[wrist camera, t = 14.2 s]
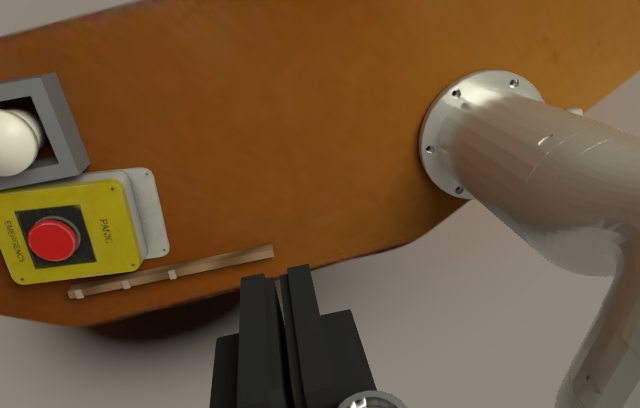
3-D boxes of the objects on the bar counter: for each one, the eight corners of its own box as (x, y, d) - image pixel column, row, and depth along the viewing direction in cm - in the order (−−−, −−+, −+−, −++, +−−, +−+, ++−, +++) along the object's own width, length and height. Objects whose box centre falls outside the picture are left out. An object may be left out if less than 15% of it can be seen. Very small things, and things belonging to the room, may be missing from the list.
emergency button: (-51, 201, 37) (142, 181, 38) (-22, 182, 41) (152, 164, 42) (-10, 298, 41) (164, 276, 42) (13, 271, 45) (172, 252, 46)
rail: (272, 243, 47) (272, 250, 45) (273, 251, 47) (274, 258, 46) (71, 284, 45) (66, 292, 44) (74, 292, 46) (69, 300, 45)
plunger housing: (55, 71, 38) (40, 77, 35) (90, 163, 41) (79, 174, 38) (-46, 89, 37) (-69, 96, 35) (-2, 180, 41) (-20, 193, 38)
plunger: (38, 96, 37) (16, 105, 34) (62, 154, 39) (43, 169, 36) (-26, 107, 37) (-55, 118, 33) (1, 166, 39) (-23, 182, 35)
